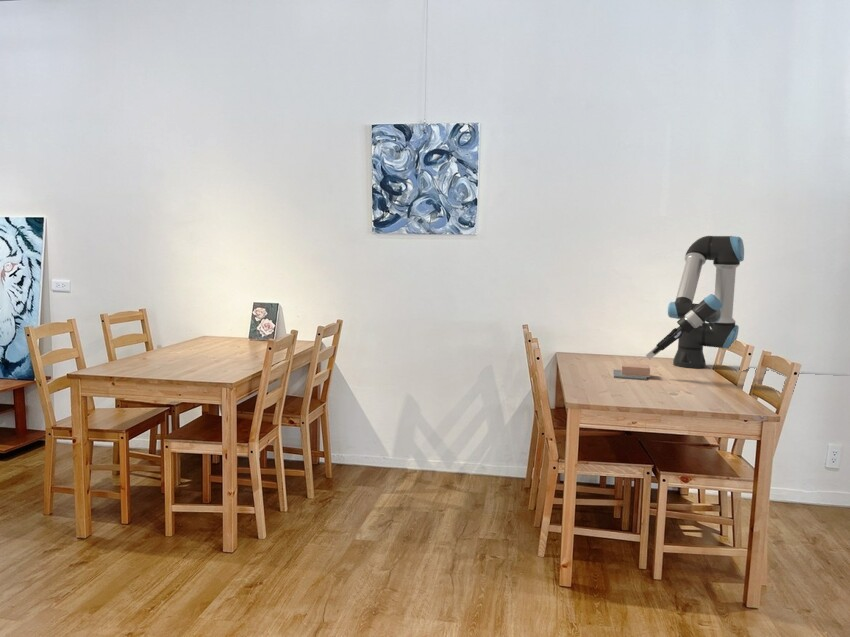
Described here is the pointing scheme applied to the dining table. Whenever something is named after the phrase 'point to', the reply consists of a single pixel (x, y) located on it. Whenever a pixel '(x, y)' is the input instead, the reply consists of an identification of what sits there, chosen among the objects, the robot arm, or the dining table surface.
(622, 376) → the slate mat
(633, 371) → the terracotta block
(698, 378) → the dining table surface
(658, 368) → the dining table surface
